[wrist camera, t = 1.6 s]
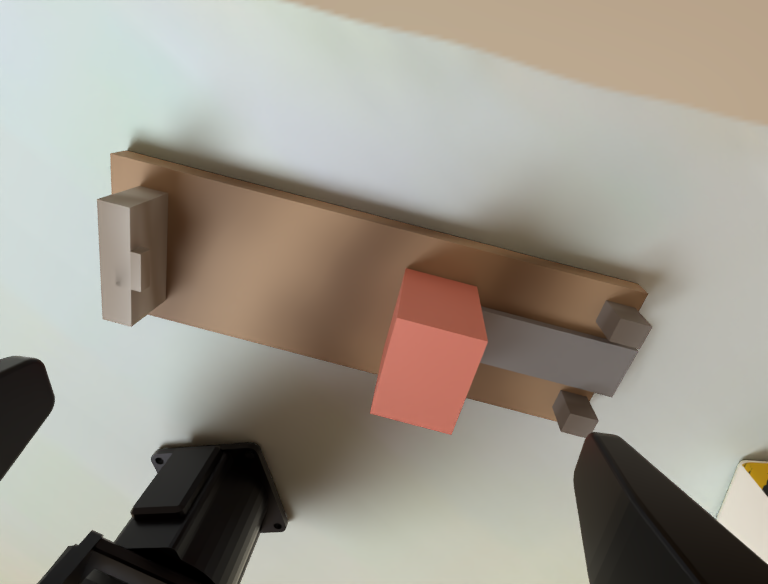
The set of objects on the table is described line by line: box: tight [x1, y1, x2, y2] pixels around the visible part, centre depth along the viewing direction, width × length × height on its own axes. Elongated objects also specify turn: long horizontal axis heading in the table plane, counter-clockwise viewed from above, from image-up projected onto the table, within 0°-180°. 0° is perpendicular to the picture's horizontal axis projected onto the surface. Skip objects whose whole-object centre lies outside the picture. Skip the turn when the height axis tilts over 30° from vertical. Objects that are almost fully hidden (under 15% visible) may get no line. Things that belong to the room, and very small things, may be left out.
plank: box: [97, 150, 652, 438], centre depth 18 cm, size 22×7×4 cm, turn 77°
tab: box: [370, 268, 638, 435], centre depth 17 cm, size 10×4×4 cm, turn 77°
